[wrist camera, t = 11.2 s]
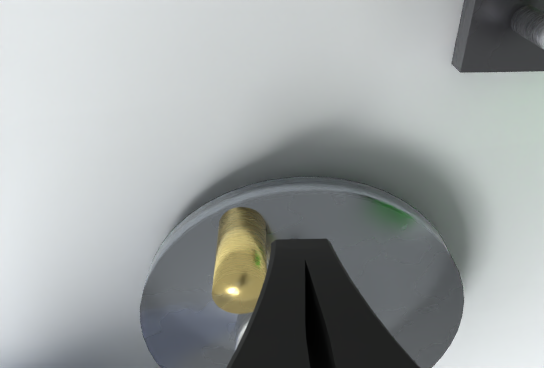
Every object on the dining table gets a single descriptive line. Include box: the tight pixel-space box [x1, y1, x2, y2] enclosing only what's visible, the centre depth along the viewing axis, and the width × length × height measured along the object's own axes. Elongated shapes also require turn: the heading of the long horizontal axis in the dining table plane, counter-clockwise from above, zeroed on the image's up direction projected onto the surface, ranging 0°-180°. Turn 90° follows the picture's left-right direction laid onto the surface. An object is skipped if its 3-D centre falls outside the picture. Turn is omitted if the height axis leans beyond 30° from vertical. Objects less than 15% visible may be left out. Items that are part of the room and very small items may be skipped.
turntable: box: [140, 177, 464, 368], centre depth 23 cm, size 16×16×5 cm
